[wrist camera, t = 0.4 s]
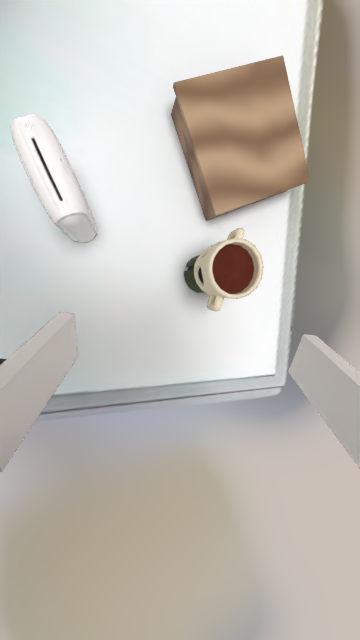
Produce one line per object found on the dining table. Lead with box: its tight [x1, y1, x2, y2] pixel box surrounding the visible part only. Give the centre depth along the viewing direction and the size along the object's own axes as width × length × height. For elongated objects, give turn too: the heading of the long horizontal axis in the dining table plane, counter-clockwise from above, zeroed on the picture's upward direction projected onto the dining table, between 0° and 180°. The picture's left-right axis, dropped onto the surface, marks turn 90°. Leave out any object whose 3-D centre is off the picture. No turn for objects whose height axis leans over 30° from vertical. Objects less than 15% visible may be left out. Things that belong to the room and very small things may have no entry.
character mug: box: [184, 228, 263, 311], centre depth 33 cm, size 11×7×13 cm, turn 163°
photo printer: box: [11, 114, 98, 242], centre depth 27 cm, size 10×4×12 cm, turn 21°
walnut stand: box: [171, 56, 310, 220], centre depth 35 cm, size 17×17×5 cm
